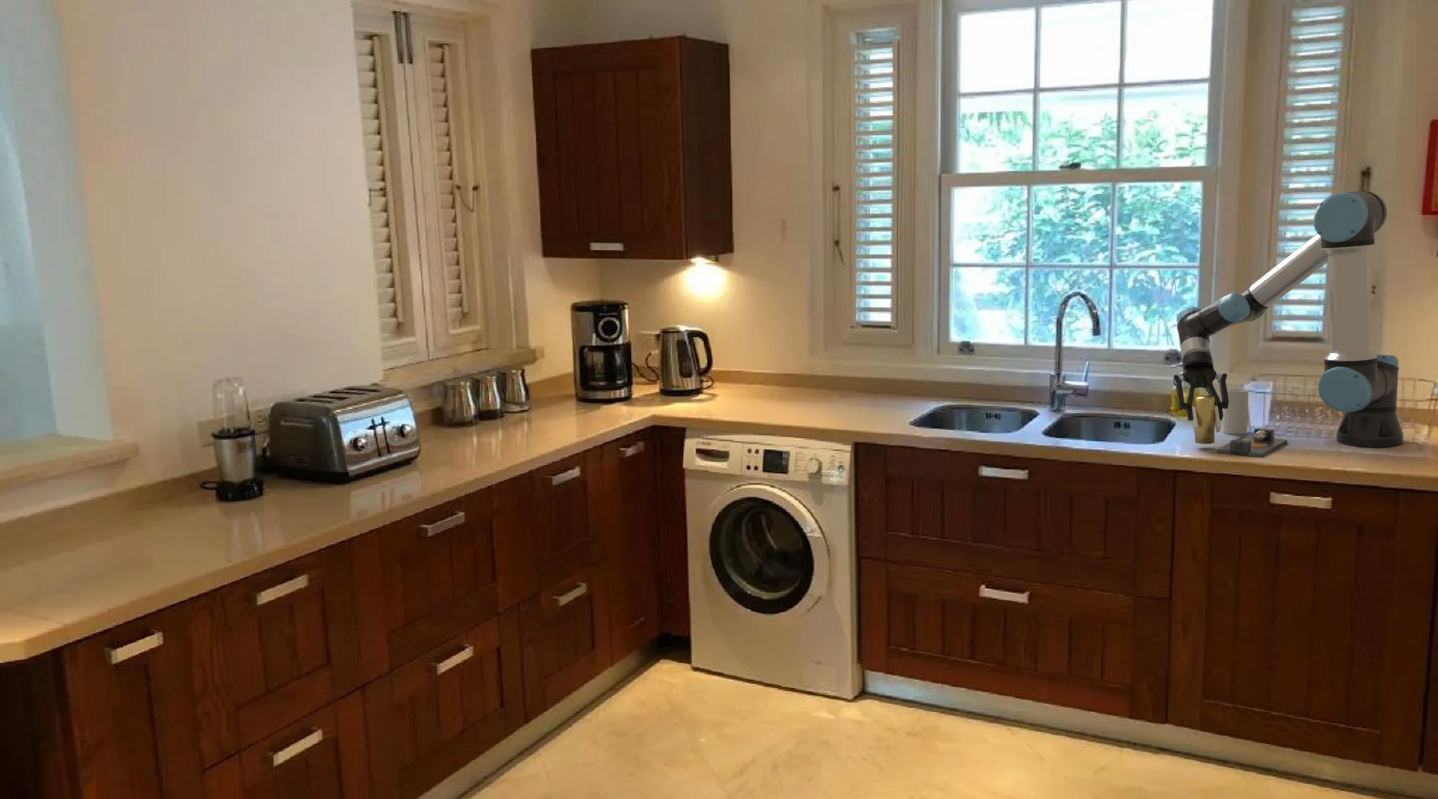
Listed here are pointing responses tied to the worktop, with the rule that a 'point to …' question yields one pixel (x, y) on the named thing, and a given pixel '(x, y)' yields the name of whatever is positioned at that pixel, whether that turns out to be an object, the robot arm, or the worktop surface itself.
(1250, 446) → the shaft bench
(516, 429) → the worktop surface
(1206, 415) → the sleeve
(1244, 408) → the mug
